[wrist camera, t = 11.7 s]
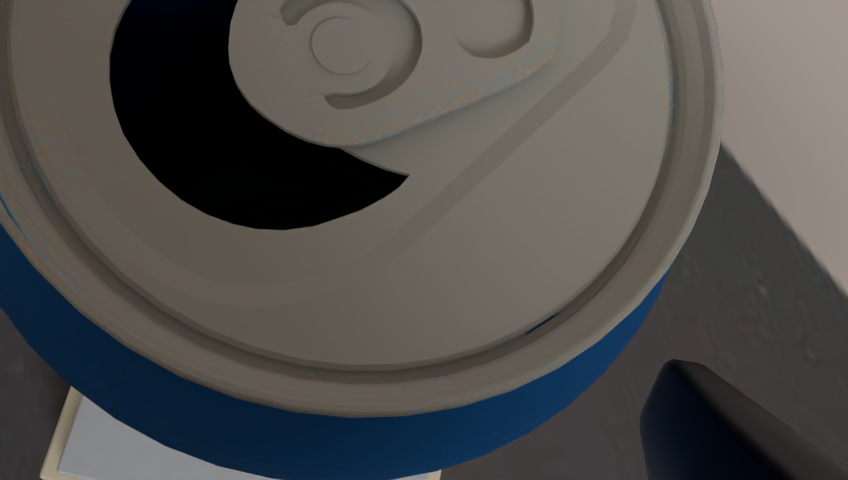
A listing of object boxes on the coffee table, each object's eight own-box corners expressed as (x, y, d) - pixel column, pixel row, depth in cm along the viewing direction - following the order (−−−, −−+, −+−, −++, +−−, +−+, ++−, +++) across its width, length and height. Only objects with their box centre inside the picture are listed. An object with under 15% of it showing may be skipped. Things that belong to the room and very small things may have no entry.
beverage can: (80, 244, 17) (-291, -229, 5) (356, 128, 18) (521, -399, 7) (215, 532, 16) (120, 715, 4) (490, 378, 18) (923, 225, 6)
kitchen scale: (403, 550, 19) (429, 565, 16) (64, 476, 18) (29, 479, 15) (478, 193, 22) (511, 153, 19) (189, 111, 21) (179, 56, 18)
